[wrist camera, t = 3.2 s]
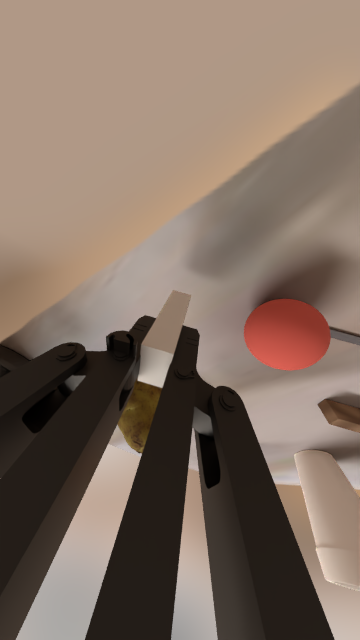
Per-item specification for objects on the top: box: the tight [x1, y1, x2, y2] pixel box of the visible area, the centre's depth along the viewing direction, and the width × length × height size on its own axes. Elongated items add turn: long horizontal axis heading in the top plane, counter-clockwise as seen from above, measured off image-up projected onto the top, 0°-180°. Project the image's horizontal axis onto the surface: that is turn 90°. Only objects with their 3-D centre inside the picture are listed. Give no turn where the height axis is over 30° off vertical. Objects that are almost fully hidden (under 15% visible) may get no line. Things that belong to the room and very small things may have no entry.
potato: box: [118, 377, 162, 453], centre depth 22 cm, size 8×13×8 cm, turn 15°
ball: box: [244, 299, 331, 370], centre depth 13 cm, size 6×6×6 cm
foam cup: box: [294, 450, 360, 591], centre depth 24 cm, size 10×9×13 cm
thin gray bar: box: [330, 329, 360, 345], centre depth 15 cm, size 8×1×1 cm, turn 77°
